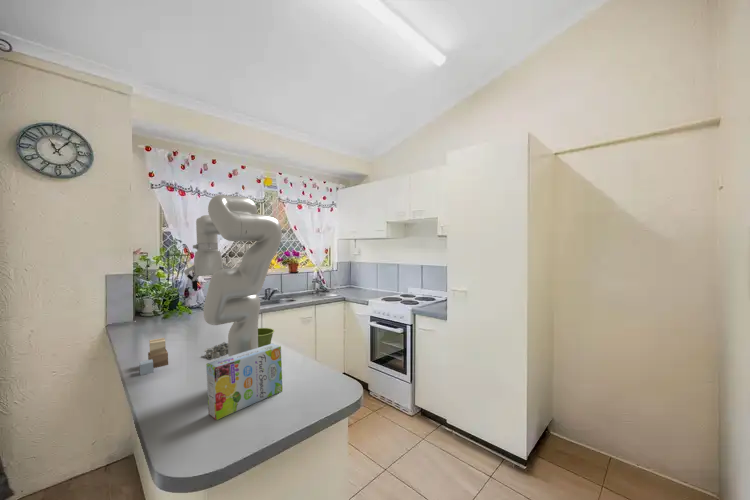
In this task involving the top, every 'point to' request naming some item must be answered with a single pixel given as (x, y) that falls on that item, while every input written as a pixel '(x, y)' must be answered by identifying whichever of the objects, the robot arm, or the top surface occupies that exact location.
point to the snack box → (243, 379)
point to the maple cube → (157, 346)
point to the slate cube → (146, 367)
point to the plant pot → (264, 336)
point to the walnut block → (159, 359)
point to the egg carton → (217, 350)
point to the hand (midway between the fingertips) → (209, 289)
